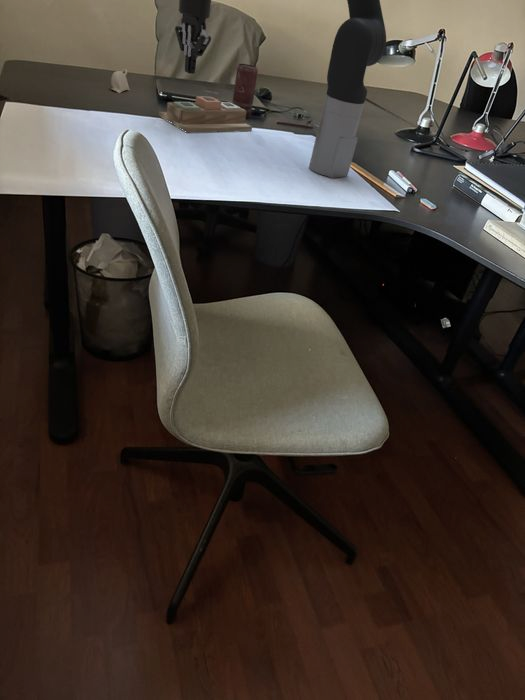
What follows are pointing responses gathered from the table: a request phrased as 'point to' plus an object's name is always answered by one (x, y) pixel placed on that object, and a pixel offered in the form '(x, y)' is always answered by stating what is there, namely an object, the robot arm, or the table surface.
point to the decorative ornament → (119, 81)
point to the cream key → (229, 106)
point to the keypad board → (206, 119)
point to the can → (245, 87)
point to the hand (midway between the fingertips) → (189, 72)
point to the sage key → (186, 106)
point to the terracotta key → (208, 103)
